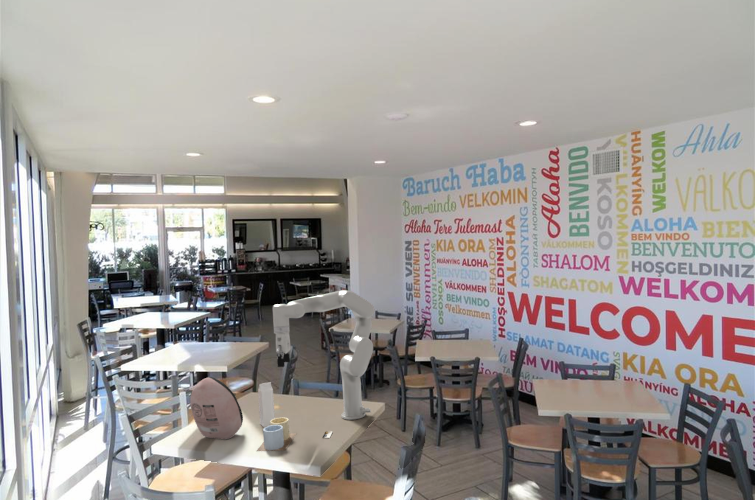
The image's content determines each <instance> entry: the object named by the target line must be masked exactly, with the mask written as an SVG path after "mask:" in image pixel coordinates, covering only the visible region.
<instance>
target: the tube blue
mask: <svg viewBox="0 0 755 500" xmlns="http://www.w3.org/2000/svg"><path fill="white" fill-rule="evenodd" d="M262 434H263V442H264V448H265V449H267V450H276V449H280V448H282V447H283V446H284V436H283V427H282V426H281V425H271V426H267V427H263V429H262Z"/></svg>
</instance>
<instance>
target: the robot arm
mask: <svg viewBox="0 0 755 500" xmlns="http://www.w3.org/2000/svg"><path fill="white" fill-rule="evenodd" d="M343 307H344V308H347V309H349V310H350V311H351V313H352V315H353V316H354V318H355V326H354V330H353V333H352V334H351V337H350V339H349V343H348V348H349V350H350V351H351V353H352V354H346V355H343V356H342V358H341V359H340V362H339V369H340V370H339V371H340V375H341V381H342V385H341V386H342V399H343V412H342V413H341V414H340V415H341V418H342V419H344V420H351V421H352V420H359V419H362V418H364V417H366V413H372V410H371V408H369V407H364V405H363V402H362V401H363V400H362V399H363V398H362V386H361V385H362V383H361V381H362V380H361V377H362V376H363V375H364V374H365V372H366V371H367V369H368V366H369V364H370V361H371V357H372V354H373V353H374V344H373V341H372V340H371V339H370V335H371V330H372V328H373V323H372V317H373V316H374V314H375V306H374V305H373V304H372V302H370V301H368V300H367V299H365V298H363V297H362V296H360V295H359V294H357V293H356V292H354V291H352V290H348V289H347V290H346V289H340V290H336V291H333V292H329V293H328V292H327V293H325V294H319V295H315V296H310V297H305V298H301V299H296V300H292V301H289V302H288V303H287V304H285V303H280V304H278V303H277V304H274V305H272V319H273V322H272V323H273V334H275V352H276V361H277V363H276V364H277V368H284V367H285V363H290V362H291V360H290V351H291V349H292V347H291V338H290V319H300V318H302V317H304V315H305V314H306V313H323V312H328V311H331V310H335V309H340V308H343Z"/></svg>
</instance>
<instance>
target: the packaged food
mask: <svg viewBox="0 0 755 500" xmlns="http://www.w3.org/2000/svg"><path fill="white" fill-rule="evenodd" d="M189 404H190V410H191V413H192V416H193V419H194V423H195V425H196V427H197V428H198V431H199V432H200V434H201V436H204V437H205V438H208V437H209V438H210V439H216V440H229V439H231V438H233V437H234V436H235V435H236V434H237V433H238V431H239V430H240V429H241V428H242V425H243V421H244V416H243V412H242V409H241V406H240V403H239V400H238V399H237V397H236V395H235V394H234V393H233V391H232V390H231V388H230V387H229V386H227V384H225V383H224V382H223V381H221V380H220V379H218V378H215V377H212V376H208V377H206V378H203V379H202V380H200V381H198V382H197V384H196V385H195V386H194V387H193V389H192V391H191V394H190V402H189Z"/></svg>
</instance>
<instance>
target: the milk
mask: <svg viewBox="0 0 755 500" xmlns="http://www.w3.org/2000/svg"><path fill="white" fill-rule="evenodd" d="M257 391H258V392H257V394H258V396H257V397H258V409H259V411H258V414H259V425H261V426H262V427H263V428H265V427H267V426H270V421H271V420H272V419H275V418H276V417H275V404H274V401H275V400H274V389H273V387H272V381H269V382H264V383H259V385H258V389H257Z"/></svg>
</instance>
